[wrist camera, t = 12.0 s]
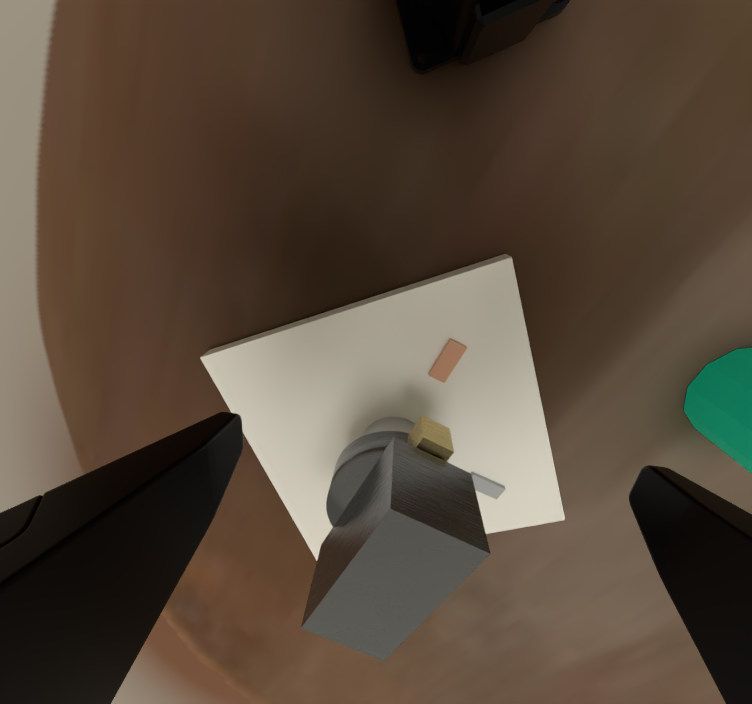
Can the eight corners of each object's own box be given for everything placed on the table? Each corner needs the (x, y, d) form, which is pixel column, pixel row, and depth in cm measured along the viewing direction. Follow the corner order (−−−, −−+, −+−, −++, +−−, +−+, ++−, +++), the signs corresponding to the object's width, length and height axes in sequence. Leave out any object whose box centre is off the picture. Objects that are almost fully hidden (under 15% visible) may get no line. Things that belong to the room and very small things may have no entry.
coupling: (407, 545, 22) (408, 670, 16) (310, 503, 21) (274, 618, 15) (489, 446, 18) (527, 558, 13) (378, 391, 18) (365, 484, 12)
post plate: (210, 349, 22) (171, 379, 19) (505, 253, 19) (530, 267, 15) (321, 549, 28) (309, 601, 25) (558, 505, 25) (584, 558, 21)
